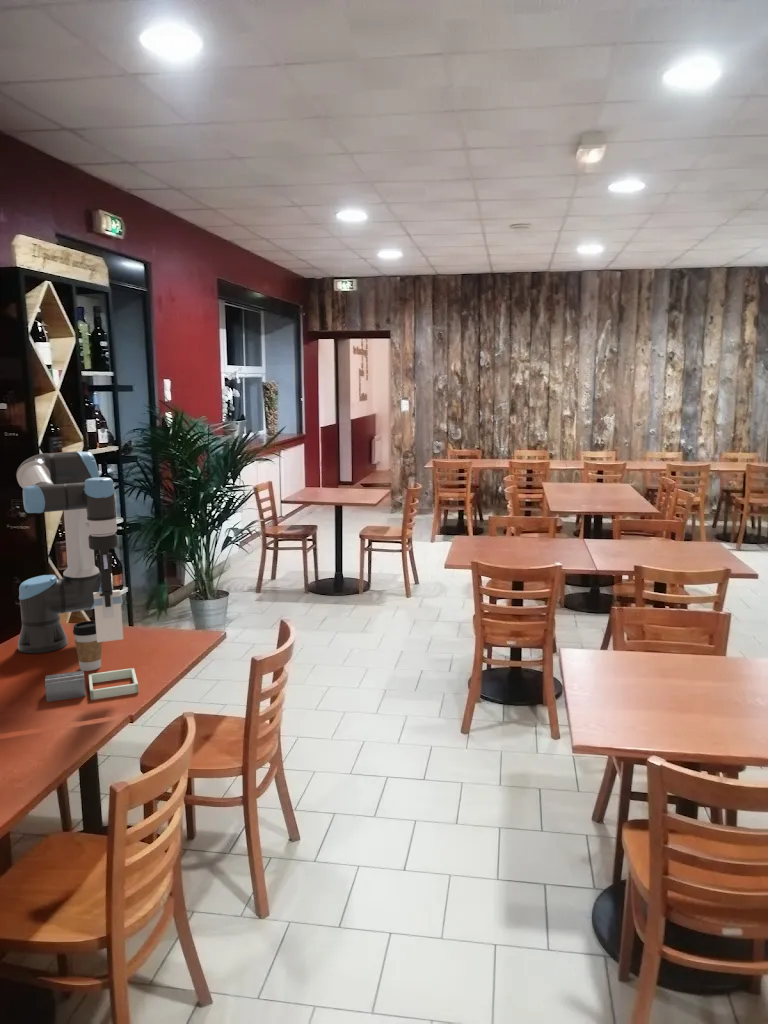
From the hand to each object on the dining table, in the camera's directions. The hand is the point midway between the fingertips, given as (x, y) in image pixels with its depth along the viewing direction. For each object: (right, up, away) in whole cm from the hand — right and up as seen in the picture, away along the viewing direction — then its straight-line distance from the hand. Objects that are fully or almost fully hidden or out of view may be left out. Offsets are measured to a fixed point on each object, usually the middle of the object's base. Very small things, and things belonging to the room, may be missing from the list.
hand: (108, 616), depth 219 cm
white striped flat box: (0, -7, +1) cm, 7 cm away
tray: (0, -22, +4) cm, 22 cm away
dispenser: (-11, -23, -1) cm, 25 cm away
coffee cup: (-12, -19, +20) cm, 31 cm away
